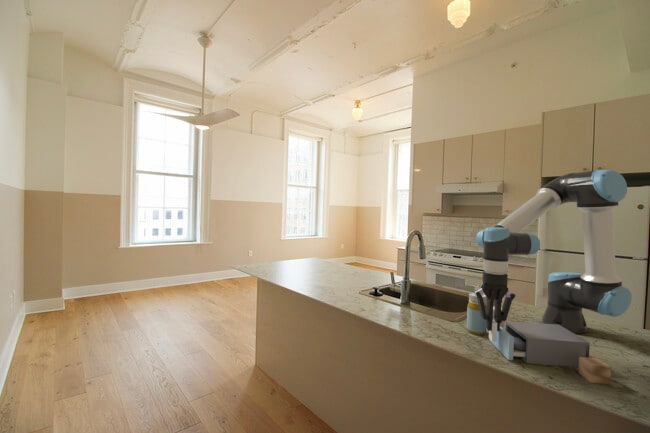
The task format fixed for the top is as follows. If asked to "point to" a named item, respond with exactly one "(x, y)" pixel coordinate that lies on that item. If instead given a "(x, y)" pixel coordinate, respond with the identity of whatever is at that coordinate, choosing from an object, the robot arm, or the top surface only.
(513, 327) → the housing
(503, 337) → the light blue drawer
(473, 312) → the bottle
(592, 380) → the block
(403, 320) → the top surface
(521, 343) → the disc
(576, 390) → the top surface
